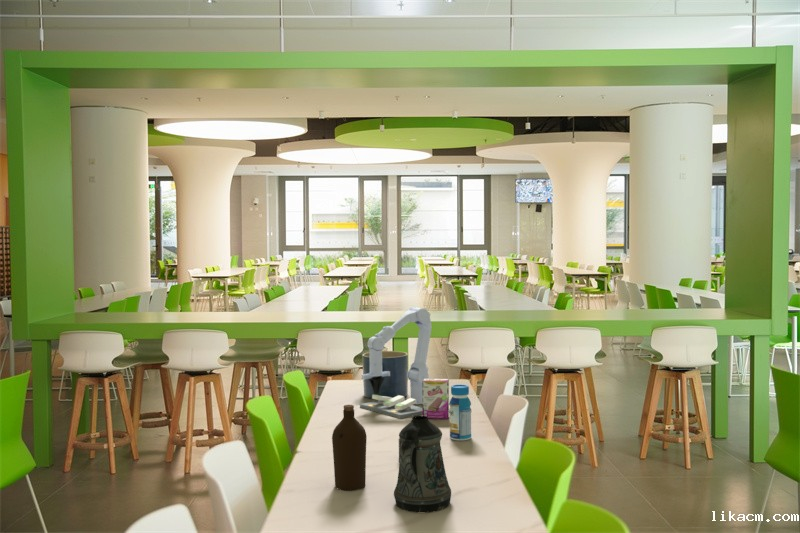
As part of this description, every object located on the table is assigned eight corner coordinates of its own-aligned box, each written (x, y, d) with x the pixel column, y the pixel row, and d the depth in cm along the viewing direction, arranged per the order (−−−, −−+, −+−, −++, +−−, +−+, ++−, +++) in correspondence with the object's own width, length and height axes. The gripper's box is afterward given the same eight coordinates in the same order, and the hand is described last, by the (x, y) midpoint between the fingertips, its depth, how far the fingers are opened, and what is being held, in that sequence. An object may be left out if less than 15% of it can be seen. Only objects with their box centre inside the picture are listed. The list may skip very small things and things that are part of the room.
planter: (356, 398, 374) (355, 357, 373) (371, 390, 395) (370, 350, 394) (401, 401, 367) (400, 358, 367) (413, 391, 389) (413, 351, 388)
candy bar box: (422, 419, 329) (421, 380, 329) (423, 416, 334) (422, 378, 334) (449, 419, 328) (448, 380, 328) (449, 416, 333) (448, 378, 333)
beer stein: (448, 493, 233) (447, 410, 233) (455, 516, 214) (454, 425, 213) (393, 494, 233) (391, 411, 232) (395, 517, 214) (393, 427, 213)
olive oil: (368, 490, 237) (366, 408, 236) (333, 492, 236) (331, 410, 235) (366, 479, 248) (364, 401, 247) (332, 481, 247) (331, 402, 246)
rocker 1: (387, 400, 359) (388, 396, 359) (392, 401, 356) (393, 397, 356) (371, 398, 353) (372, 394, 353) (377, 399, 350) (377, 395, 350)
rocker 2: (399, 398, 352) (398, 394, 352) (404, 399, 349) (404, 396, 349) (383, 405, 347) (383, 402, 347) (389, 407, 344) (388, 403, 343)
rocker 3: (411, 401, 345) (410, 397, 345) (416, 402, 342) (416, 398, 342) (395, 408, 340) (394, 405, 340) (401, 410, 337) (400, 406, 337)
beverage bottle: (470, 441, 292) (469, 388, 291) (448, 440, 294) (447, 387, 293) (473, 435, 300) (472, 384, 300) (451, 435, 302) (450, 383, 301)
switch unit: (388, 402, 365) (388, 396, 365) (429, 412, 341) (429, 406, 341) (360, 407, 355) (360, 401, 355) (400, 418, 331) (400, 412, 331)
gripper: (383, 360, 359) (384, 390, 360) (357, 364, 351) (358, 394, 351) (392, 362, 354) (393, 392, 354) (366, 366, 345) (367, 396, 345)
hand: (376, 393), depth 352 cm, fingers closed
